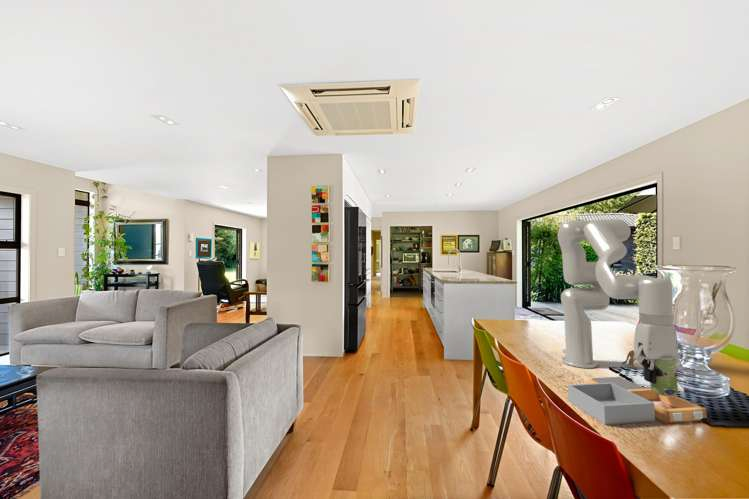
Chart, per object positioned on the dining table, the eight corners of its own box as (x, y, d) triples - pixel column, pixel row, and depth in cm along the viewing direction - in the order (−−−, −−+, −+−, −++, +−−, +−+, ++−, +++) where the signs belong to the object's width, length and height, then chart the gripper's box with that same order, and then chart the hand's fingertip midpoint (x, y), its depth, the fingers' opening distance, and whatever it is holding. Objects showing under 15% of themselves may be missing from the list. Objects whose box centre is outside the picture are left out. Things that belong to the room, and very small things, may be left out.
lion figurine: (671, 373, 119) (669, 349, 119) (666, 376, 116) (665, 352, 116) (624, 363, 131) (623, 341, 132) (618, 366, 128) (617, 343, 129)
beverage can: (672, 391, 95) (668, 350, 96) (684, 401, 88) (680, 357, 89) (646, 388, 98) (643, 349, 98) (656, 398, 91) (652, 356, 92)
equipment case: (588, 382, 113) (588, 373, 113) (619, 380, 114) (619, 372, 114) (668, 423, 84) (667, 412, 85) (709, 421, 85) (708, 409, 85)
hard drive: (635, 382, 109) (684, 389, 103) (630, 374, 116) (675, 380, 110) (636, 387, 109) (684, 394, 103) (631, 379, 116) (676, 385, 110)
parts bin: (568, 401, 99) (567, 384, 99) (611, 398, 100) (610, 382, 100) (605, 425, 85) (604, 406, 85) (655, 421, 86) (654, 403, 86)
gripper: (669, 315, 98) (671, 374, 98) (618, 318, 97) (620, 377, 97) (695, 321, 90) (697, 385, 90) (640, 323, 89) (642, 388, 89)
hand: (657, 380), depth 93 cm, fingers closed on beverage can, 4 cm apart
